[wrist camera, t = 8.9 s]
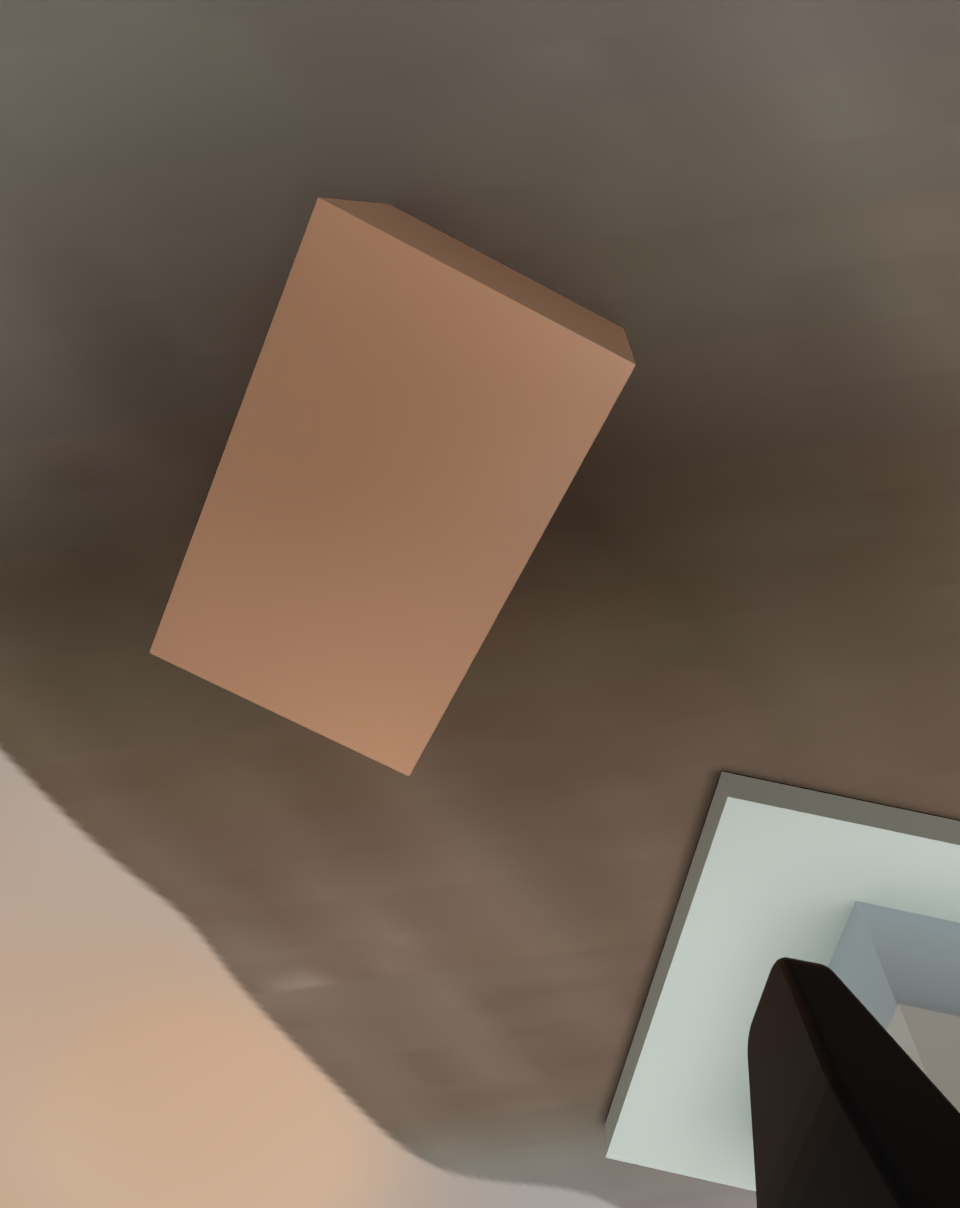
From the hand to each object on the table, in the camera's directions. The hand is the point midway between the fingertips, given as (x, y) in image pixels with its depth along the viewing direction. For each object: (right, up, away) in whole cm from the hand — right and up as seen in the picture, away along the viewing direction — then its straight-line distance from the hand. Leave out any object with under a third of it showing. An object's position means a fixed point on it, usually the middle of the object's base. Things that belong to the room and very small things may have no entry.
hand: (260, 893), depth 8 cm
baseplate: (+12, -8, +15) cm, 21 cm away
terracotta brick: (+1, +6, +11) cm, 12 cm away
